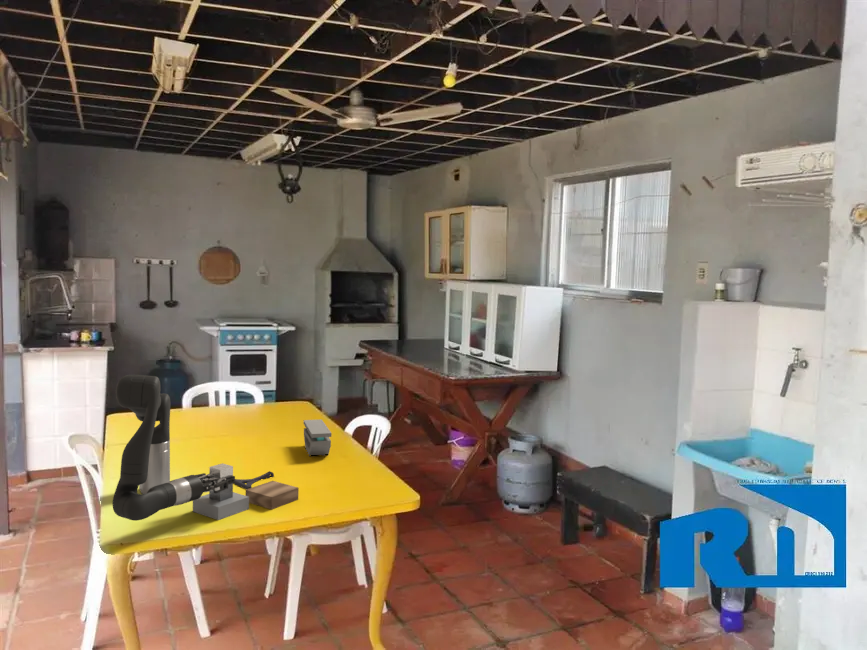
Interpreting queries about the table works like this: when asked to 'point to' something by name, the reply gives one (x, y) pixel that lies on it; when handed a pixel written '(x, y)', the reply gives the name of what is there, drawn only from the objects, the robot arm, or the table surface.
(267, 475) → the bracket
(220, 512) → the stand
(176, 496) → the robot arm
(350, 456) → the table surface
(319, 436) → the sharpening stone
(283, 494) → the stand
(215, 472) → the block
